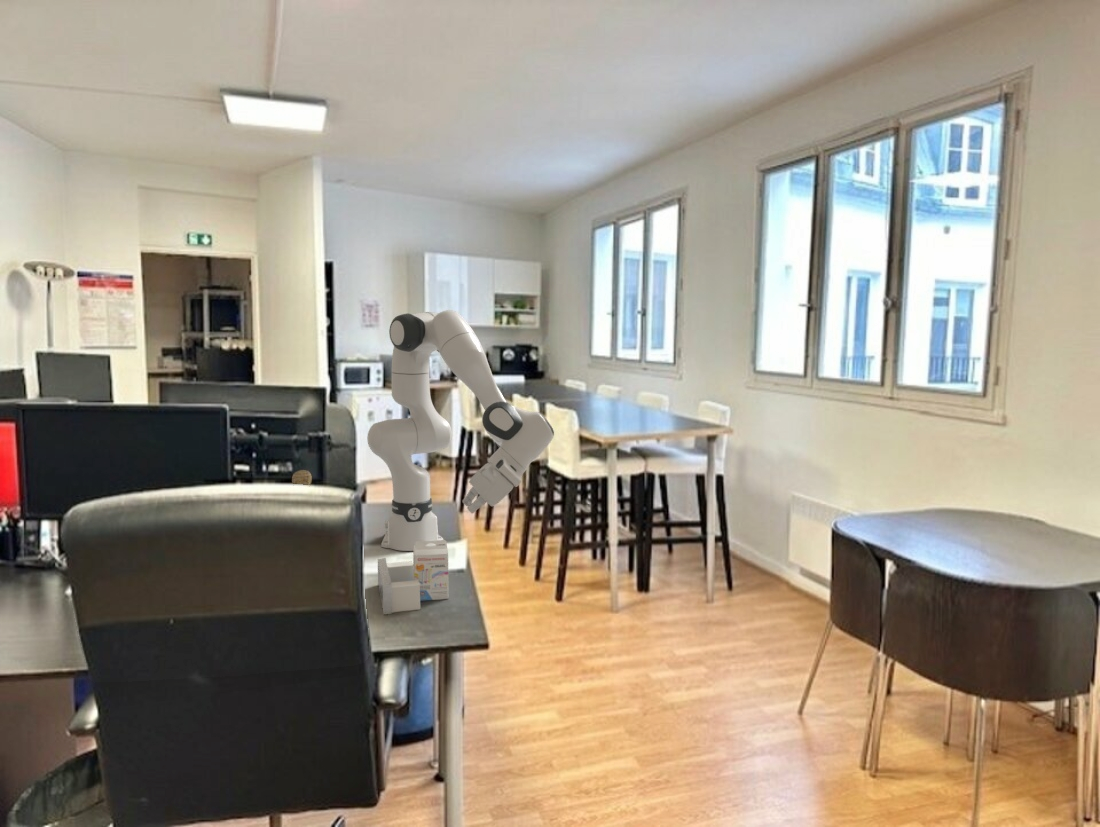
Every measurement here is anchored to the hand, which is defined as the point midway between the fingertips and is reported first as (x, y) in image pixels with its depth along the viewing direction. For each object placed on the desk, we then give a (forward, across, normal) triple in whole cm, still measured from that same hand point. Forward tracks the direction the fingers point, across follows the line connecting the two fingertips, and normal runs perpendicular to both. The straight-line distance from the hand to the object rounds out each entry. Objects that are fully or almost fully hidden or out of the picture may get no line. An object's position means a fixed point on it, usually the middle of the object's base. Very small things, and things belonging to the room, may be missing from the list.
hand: (466, 507), depth 181 cm
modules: (+27, 0, +4) cm, 27 cm away
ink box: (+22, 0, +9) cm, 24 cm away
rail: (+30, 0, +1) cm, 30 cm away
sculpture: (+43, -16, -12) cm, 48 cm away
